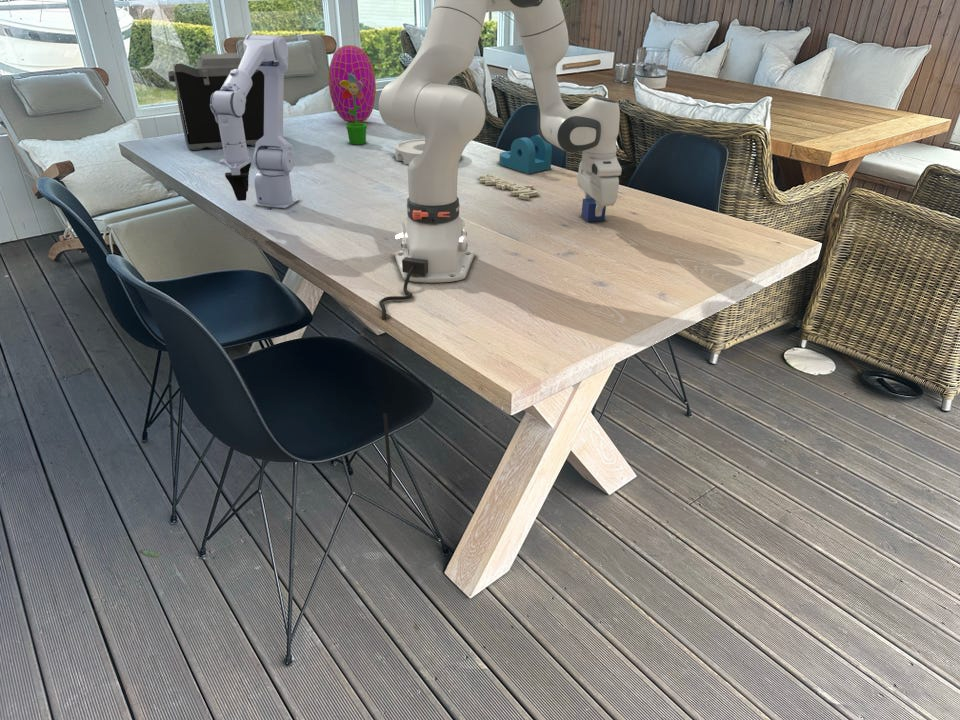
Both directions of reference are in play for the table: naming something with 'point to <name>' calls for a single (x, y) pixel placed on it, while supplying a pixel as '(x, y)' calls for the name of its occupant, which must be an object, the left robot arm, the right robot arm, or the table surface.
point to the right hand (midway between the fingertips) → (593, 212)
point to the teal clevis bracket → (528, 155)
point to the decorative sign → (509, 186)
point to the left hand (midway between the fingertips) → (242, 195)
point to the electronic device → (197, 94)
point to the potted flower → (354, 129)
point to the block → (591, 210)
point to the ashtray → (409, 150)
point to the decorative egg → (361, 68)
